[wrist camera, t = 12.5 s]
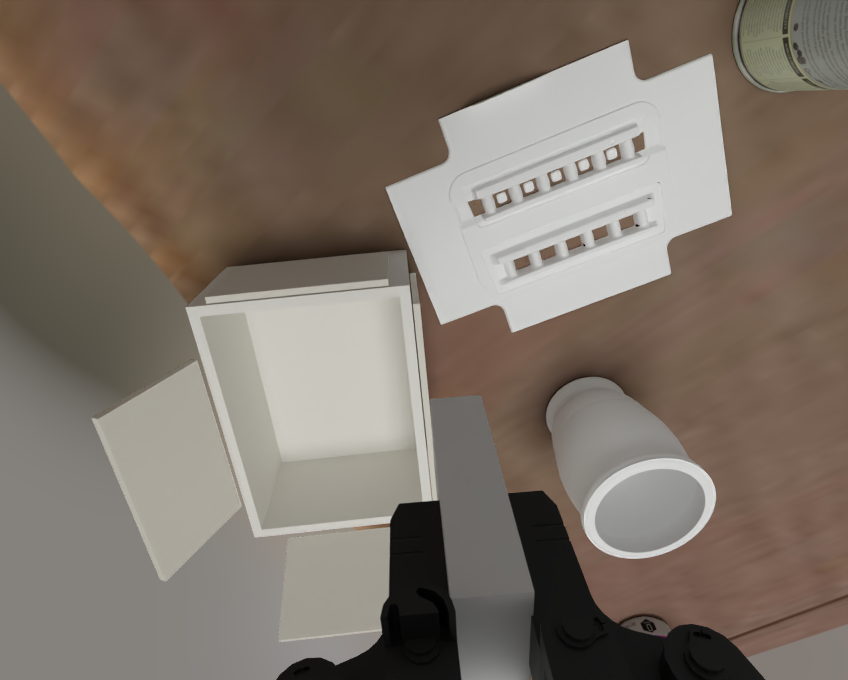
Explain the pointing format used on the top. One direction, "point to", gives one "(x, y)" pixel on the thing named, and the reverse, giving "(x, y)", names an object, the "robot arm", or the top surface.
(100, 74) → the top surface
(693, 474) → the jar
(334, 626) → the end flap
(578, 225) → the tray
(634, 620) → the supplement can
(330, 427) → the carton
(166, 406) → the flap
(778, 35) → the coffee can
